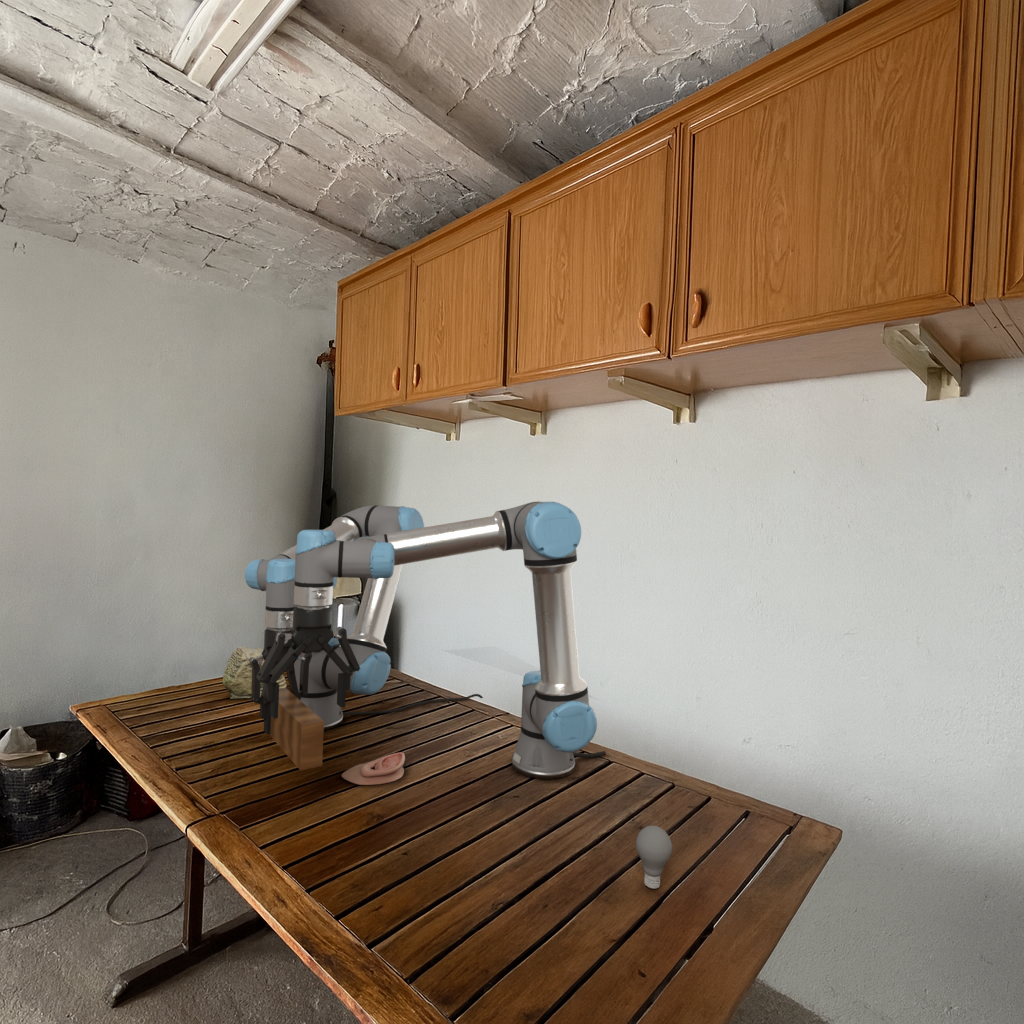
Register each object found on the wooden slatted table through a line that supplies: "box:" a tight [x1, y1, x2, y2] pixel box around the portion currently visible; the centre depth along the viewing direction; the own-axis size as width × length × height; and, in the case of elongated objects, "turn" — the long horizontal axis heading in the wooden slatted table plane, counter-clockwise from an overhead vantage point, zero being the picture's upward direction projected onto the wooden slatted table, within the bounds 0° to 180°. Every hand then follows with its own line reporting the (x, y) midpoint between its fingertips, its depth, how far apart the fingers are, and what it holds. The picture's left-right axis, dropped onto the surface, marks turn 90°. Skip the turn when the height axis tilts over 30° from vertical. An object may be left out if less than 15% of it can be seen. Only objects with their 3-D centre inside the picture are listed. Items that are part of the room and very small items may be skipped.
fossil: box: [222, 646, 288, 699], centre depth 198 cm, size 9×18×15 cm, turn 132°
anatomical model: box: [341, 751, 406, 786], centre depth 145 cm, size 13×4×12 cm
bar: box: [268, 687, 325, 772], centre depth 136 cm, size 25×4×9 cm, turn 36°
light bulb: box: [635, 825, 673, 889], centre depth 107 cm, size 6×6×10 cm
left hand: (278, 729), depth 144 cm, fingers closed on bar, 4 cm apart
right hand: (308, 711), depth 128 cm, fingers open, 13 cm apart
